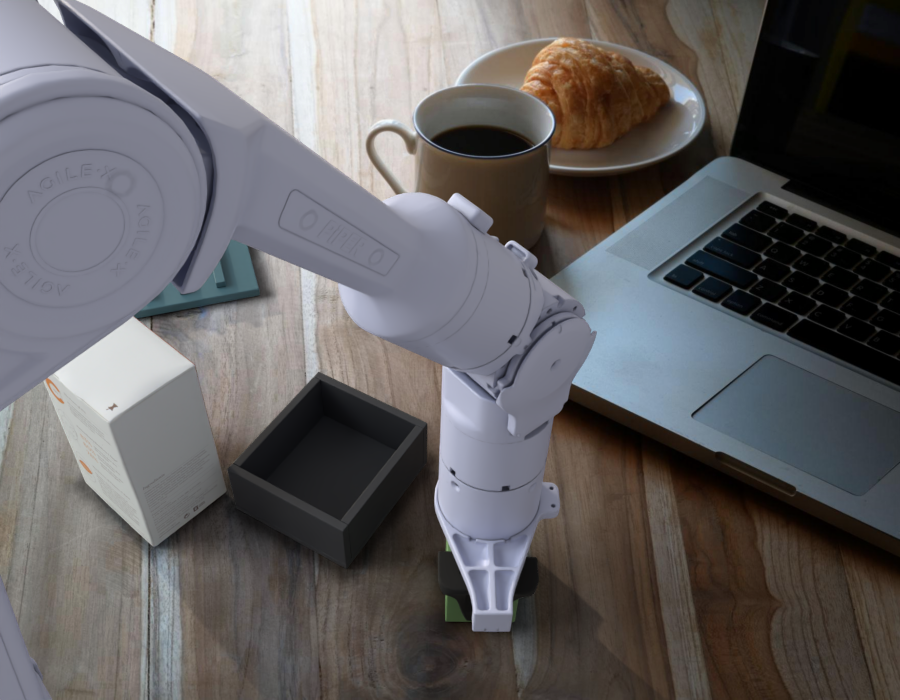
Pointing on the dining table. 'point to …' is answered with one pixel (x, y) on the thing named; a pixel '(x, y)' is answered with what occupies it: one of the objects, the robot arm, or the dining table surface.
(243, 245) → the drainboard
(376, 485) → the dark grey open tray
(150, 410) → the small box
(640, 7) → the dining table surface
